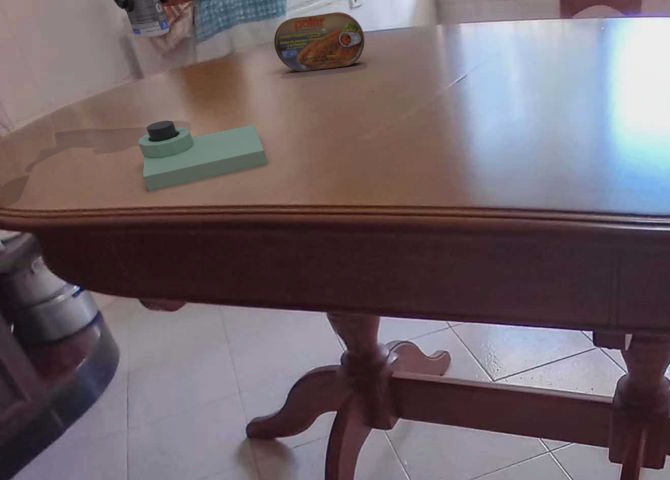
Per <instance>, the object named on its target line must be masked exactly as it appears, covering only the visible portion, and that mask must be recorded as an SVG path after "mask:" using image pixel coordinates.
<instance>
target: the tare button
mask: <svg viewBox="0 0 670 480" xmlns="http://www.w3.org/2000/svg"><path fill="white" fill-rule="evenodd" d="M175 127H176V125H175V123H174V121H173V120H162V121H156V122H153V123H151V124H149V125H147V127H146V131H147V134H149V136H150V139H151V141H152V142H160V141H164V140H169V139H171V138H174V137H176V136H178V134H177V131H176V129H175Z"/></svg>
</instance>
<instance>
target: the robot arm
mask: <svg viewBox="0 0 670 480" xmlns="http://www.w3.org/2000/svg"><path fill="white" fill-rule="evenodd" d="M113 2H114V3H115V4H116V6H117V7H118V8H120V9H121V10H124V11H125V12H126V13H127V12H132V11H133V7H134V1H133V0H113ZM160 2H161V4H168V3H169V2H170V0H160Z"/></svg>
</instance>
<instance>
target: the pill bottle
mask: <svg viewBox="0 0 670 480" xmlns="http://www.w3.org/2000/svg"><path fill="white" fill-rule="evenodd" d="M133 1H134V7H133V11H132V12H126V15H127V18H128V21H129V24H130V26H131V29H132V31H133V35H134V36H135V37H136V38H139V39H145V38H146V39H147V38H152V37H157V36H163V35H164V34H168V33H169V31H170V26H169V24H168V20H167V18H166V14H165V11H164V8H163V5H162V3H161V1H160V0H133Z"/></svg>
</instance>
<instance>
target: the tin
mask: <svg viewBox="0 0 670 480" xmlns="http://www.w3.org/2000/svg"><path fill="white" fill-rule="evenodd" d="M273 37H274V38H273V45H274V46H273V47H274V50H275V53H276V55H277V57H278V58H279V60H280V61H281V62H282V63H283V64H284V65H285V66H286V67H287V68H289V69H291V70H293V71H296V72H300V73H304V72H305V73H306V72H312V71H313V72H314V71H320V70H327V69H336V68H344V67H349V66H351V65H353V64H355V63H356V62H357V61H358V60H359V59H360V57H361V56H362V54H363V51H364V47H365V34H364V31H363V27H362V26H361V24H360V23H359V22H358V21H357V20H356V18H354V17H353V16H352V15H350V14H348V13H345V12H341V11H338V12H337V11H336V12H329V13H321V14H314V15H306V16H305V15H304V16H298V17H292V18H289V19H286V20H284V21H283V22H282V23H280V24H279V26H278V27H277V28H276V31H275V34H274V36H273Z"/></svg>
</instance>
